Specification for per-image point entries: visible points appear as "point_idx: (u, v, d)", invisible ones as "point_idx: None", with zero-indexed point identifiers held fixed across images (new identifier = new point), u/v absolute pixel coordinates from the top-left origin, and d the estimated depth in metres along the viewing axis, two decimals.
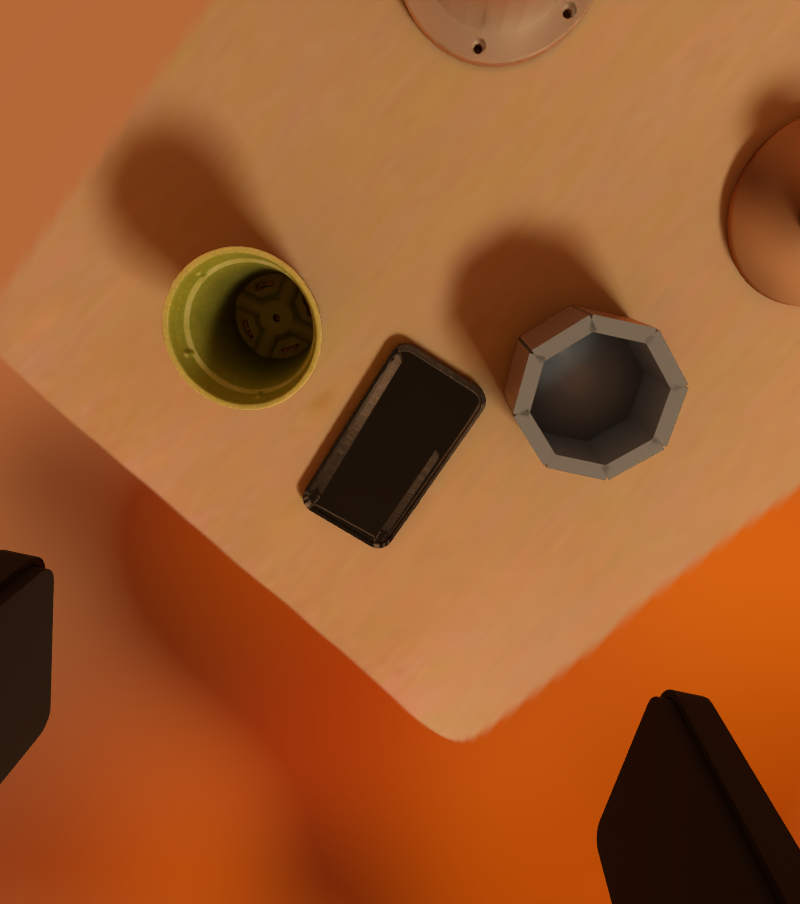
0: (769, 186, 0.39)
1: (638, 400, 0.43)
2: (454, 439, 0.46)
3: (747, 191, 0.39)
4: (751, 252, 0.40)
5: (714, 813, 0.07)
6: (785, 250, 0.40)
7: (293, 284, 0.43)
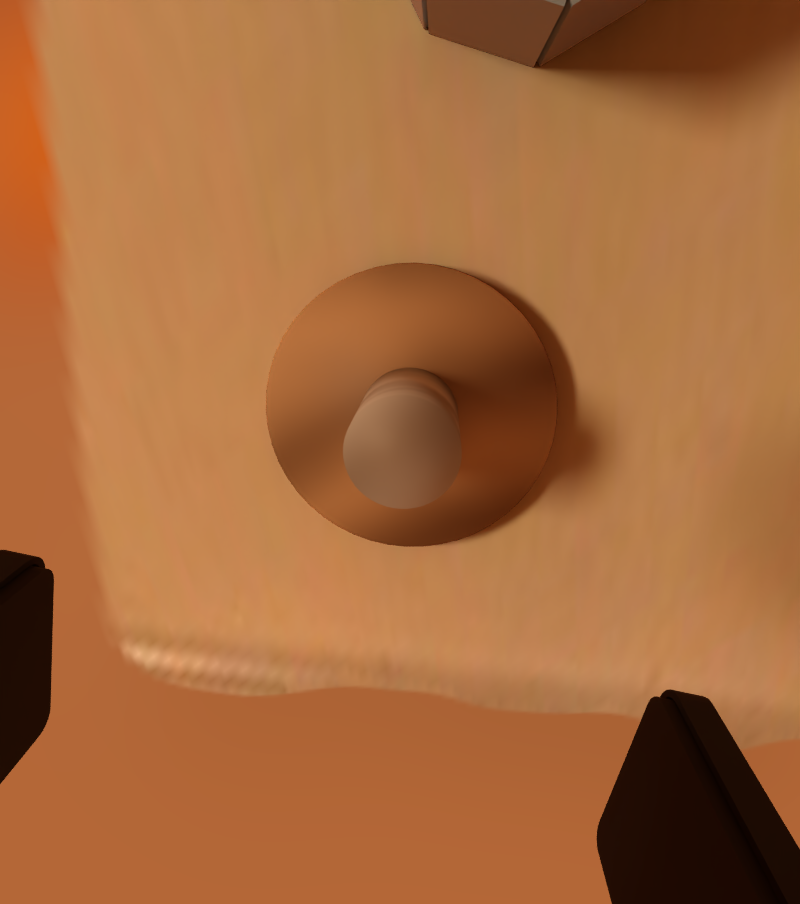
0: (510, 379, 0.25)
1: None
2: None
3: (532, 354, 0.25)
4: (456, 294, 0.24)
5: (714, 813, 0.07)
6: (415, 333, 0.25)
7: None
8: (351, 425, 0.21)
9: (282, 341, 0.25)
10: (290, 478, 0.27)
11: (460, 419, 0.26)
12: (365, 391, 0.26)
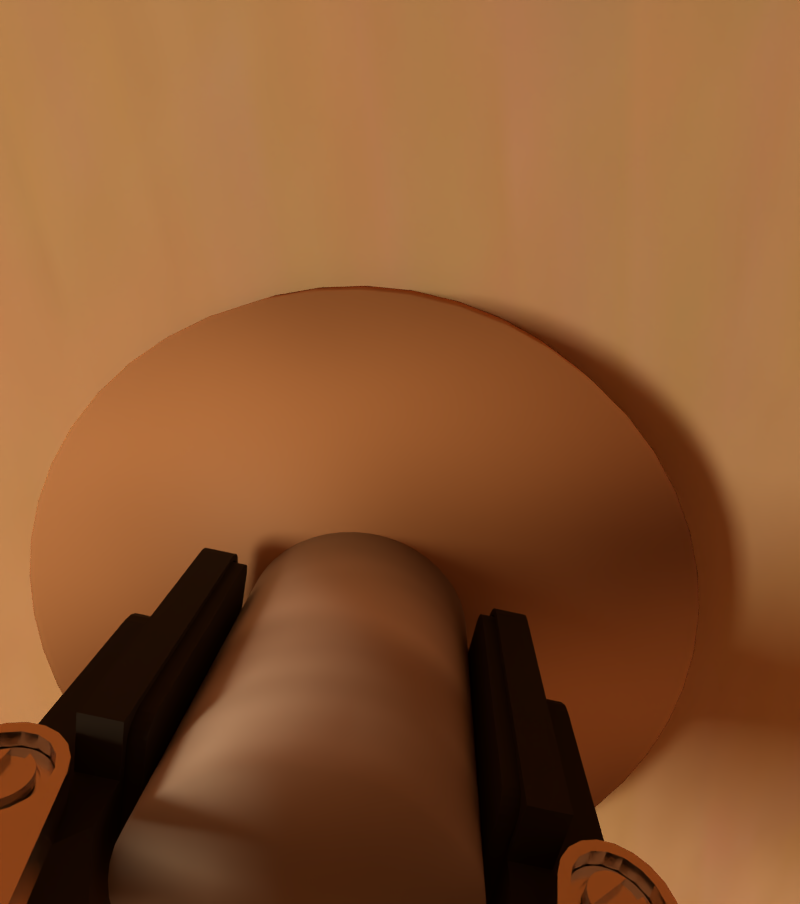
0: (591, 562, 0.11)
1: None
2: None
3: (646, 507, 0.10)
4: (465, 368, 0.10)
5: (492, 697, 0.08)
6: (365, 456, 0.10)
7: None
8: (124, 836, 0.06)
9: (52, 471, 0.11)
10: None
11: None
12: (253, 580, 0.11)
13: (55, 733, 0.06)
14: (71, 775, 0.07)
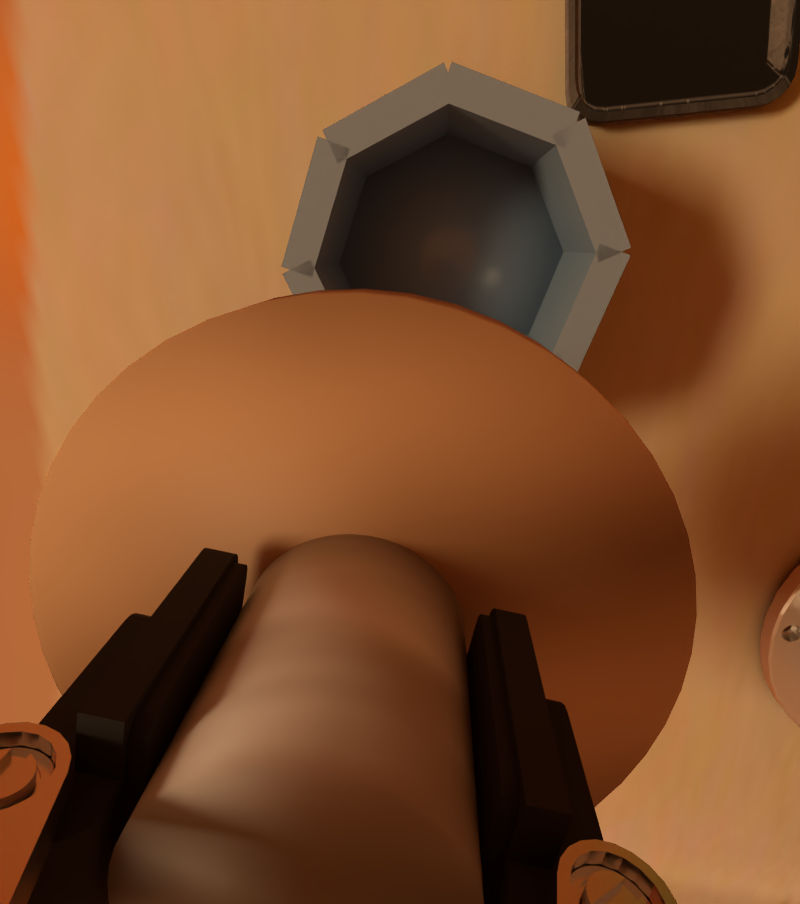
0: (588, 564, 0.11)
1: None
2: None
3: (644, 509, 0.10)
4: (463, 370, 0.10)
5: (492, 696, 0.08)
6: (364, 459, 0.10)
7: None
8: (124, 839, 0.06)
9: (51, 473, 0.11)
10: None
11: None
12: (252, 582, 0.11)
13: (55, 733, 0.06)
14: (71, 775, 0.07)
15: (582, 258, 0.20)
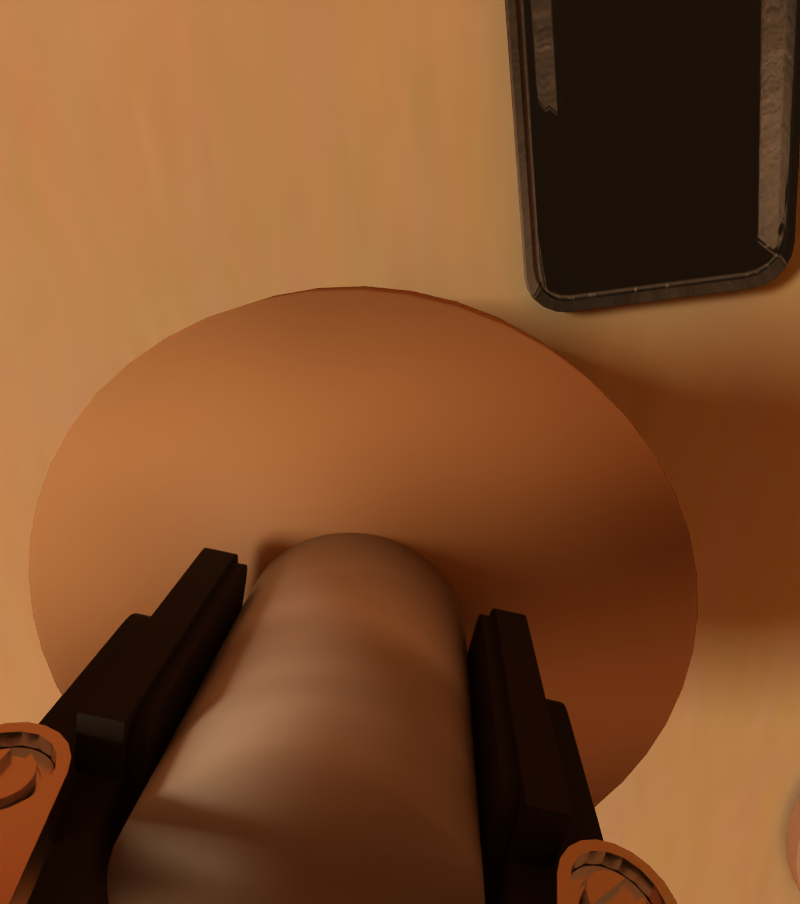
0: (589, 563, 0.11)
1: None
2: (537, 171, 0.18)
3: (645, 507, 0.10)
4: (463, 368, 0.10)
5: (492, 696, 0.08)
6: (365, 457, 0.10)
7: None
8: (123, 837, 0.06)
9: (51, 472, 0.11)
10: None
11: None
12: (252, 581, 0.11)
13: (55, 733, 0.06)
14: (71, 775, 0.07)
15: None
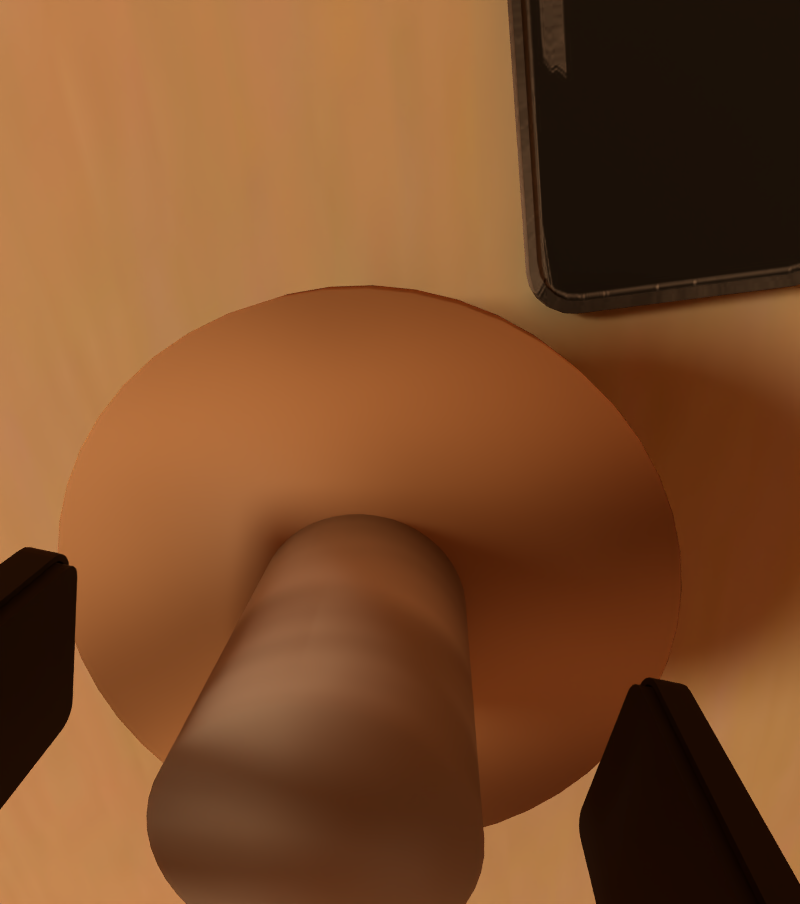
0: (581, 542, 0.11)
1: None
2: (542, 145, 0.15)
3: (632, 490, 0.11)
4: (463, 360, 0.10)
5: (687, 795, 0.07)
6: (372, 443, 0.11)
7: None
8: (163, 773, 0.07)
9: (80, 458, 0.11)
10: (124, 719, 0.13)
11: (470, 618, 0.12)
12: (267, 560, 0.12)
13: None
14: None
15: None
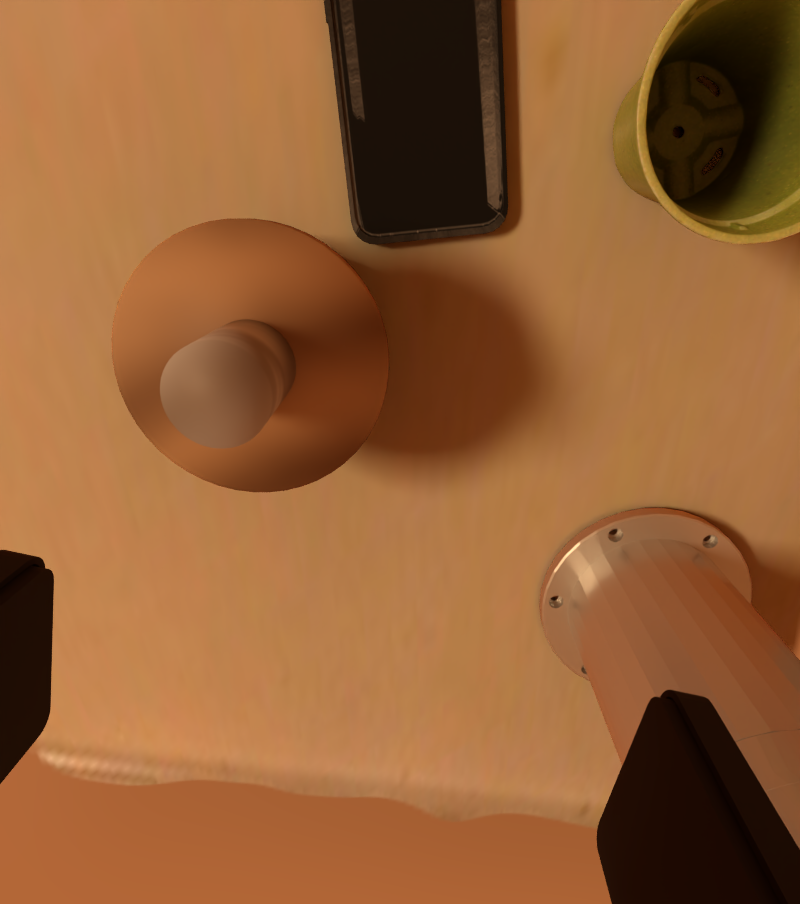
0: (343, 334, 0.26)
1: None
2: (354, 155, 0.30)
3: (362, 309, 0.26)
4: (288, 250, 0.25)
5: (714, 813, 0.07)
6: (252, 286, 0.26)
7: (677, 192, 0.30)
8: (166, 367, 0.22)
9: (124, 290, 0.26)
10: (139, 424, 0.28)
11: (298, 370, 0.27)
12: None
13: None
14: None
15: None
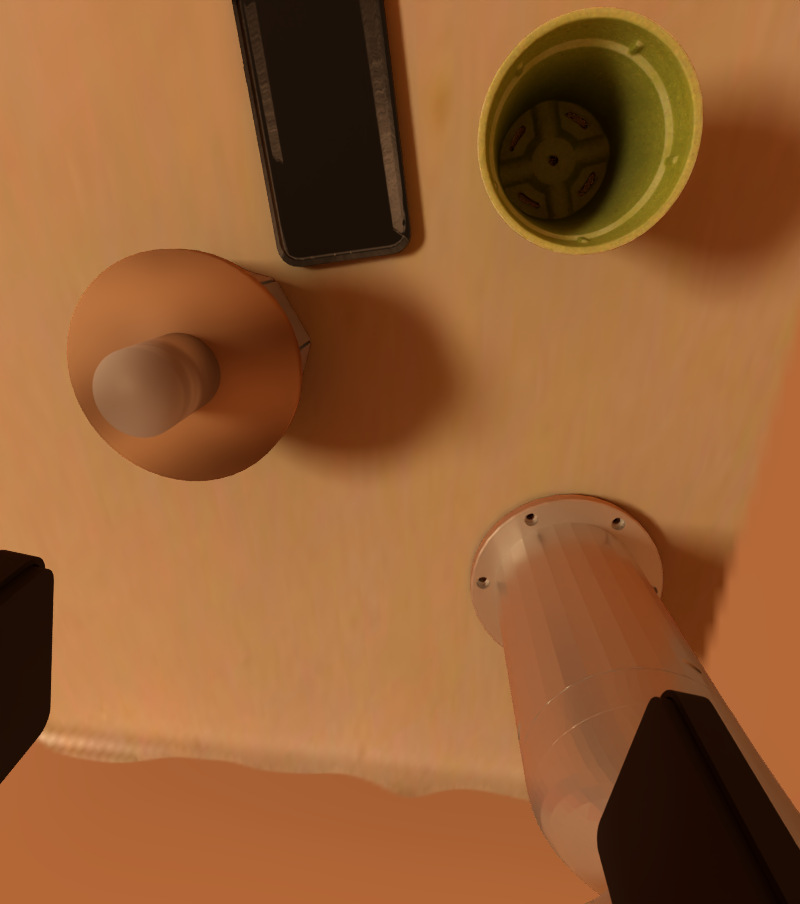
0: (257, 342, 0.31)
1: None
2: (276, 192, 0.35)
3: (271, 321, 0.31)
4: (207, 273, 0.30)
5: (714, 813, 0.07)
6: (179, 304, 0.31)
7: (557, 212, 0.35)
8: (96, 371, 0.27)
9: (75, 311, 0.31)
10: (93, 424, 0.33)
11: (222, 375, 0.32)
12: None
13: None
14: None
15: None
